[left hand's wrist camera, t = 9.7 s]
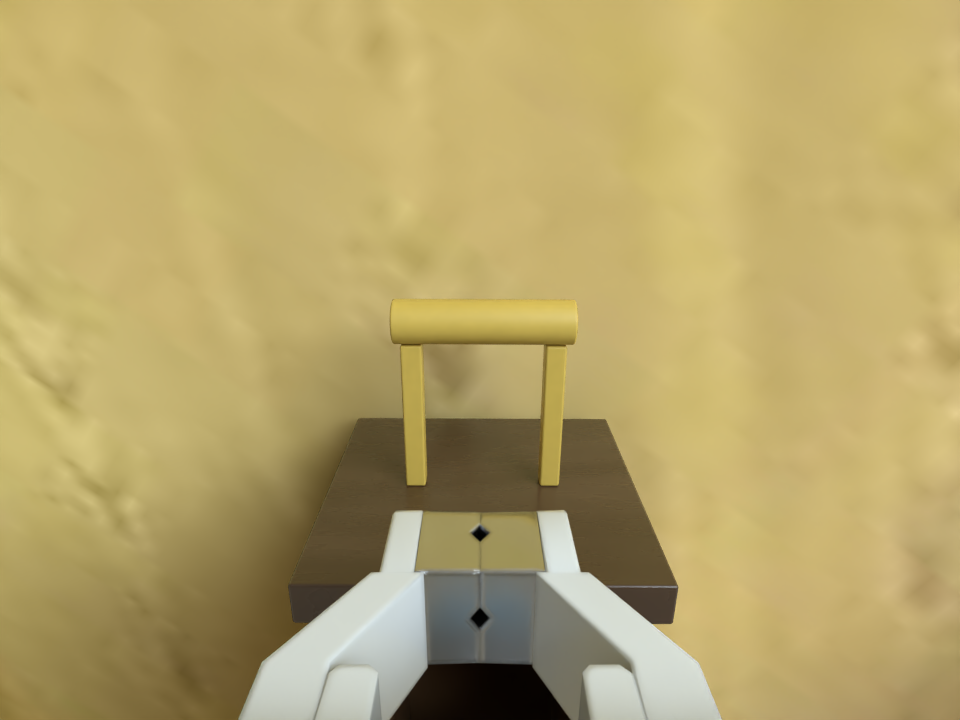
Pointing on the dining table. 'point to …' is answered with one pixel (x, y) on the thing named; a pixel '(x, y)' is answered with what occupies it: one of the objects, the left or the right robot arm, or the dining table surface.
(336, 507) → the drawer
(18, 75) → the dining table surface
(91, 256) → the dining table surface
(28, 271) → the dining table surface
